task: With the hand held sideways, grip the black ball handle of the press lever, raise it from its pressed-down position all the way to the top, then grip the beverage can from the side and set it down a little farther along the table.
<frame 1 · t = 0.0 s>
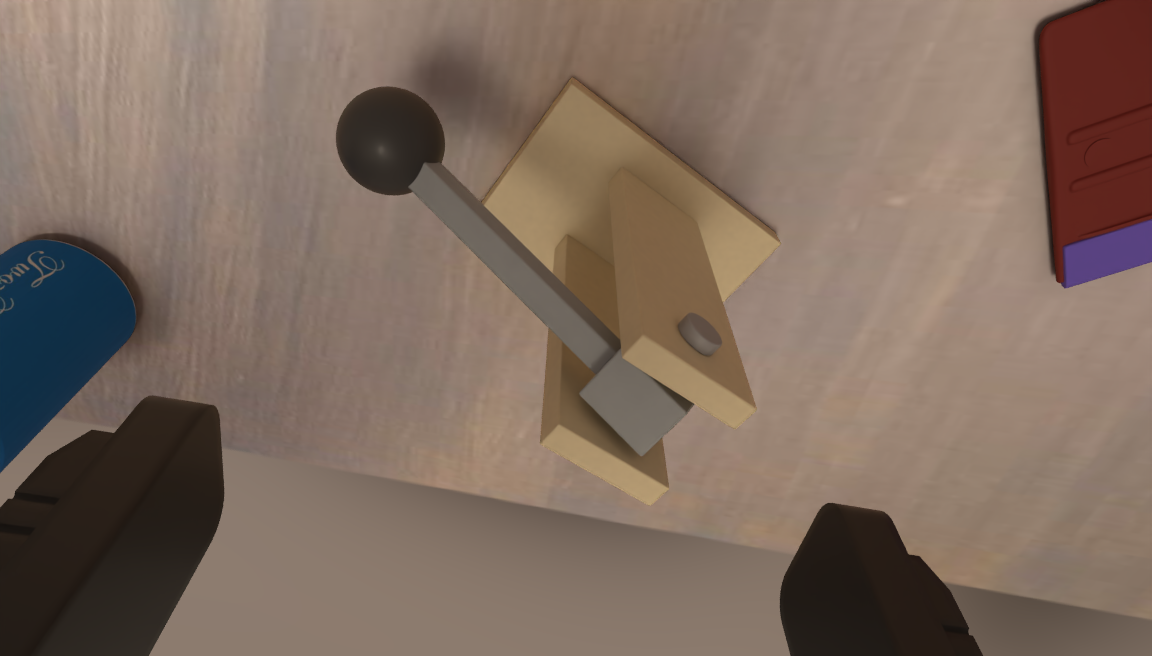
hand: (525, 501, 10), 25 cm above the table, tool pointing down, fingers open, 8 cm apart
beverage can: (79, 289, 37), on the table
lever bracket: (623, 224, 35), on the table
press lever: (509, 258, 24), point 10 cm above the table, hinge at -28.0°
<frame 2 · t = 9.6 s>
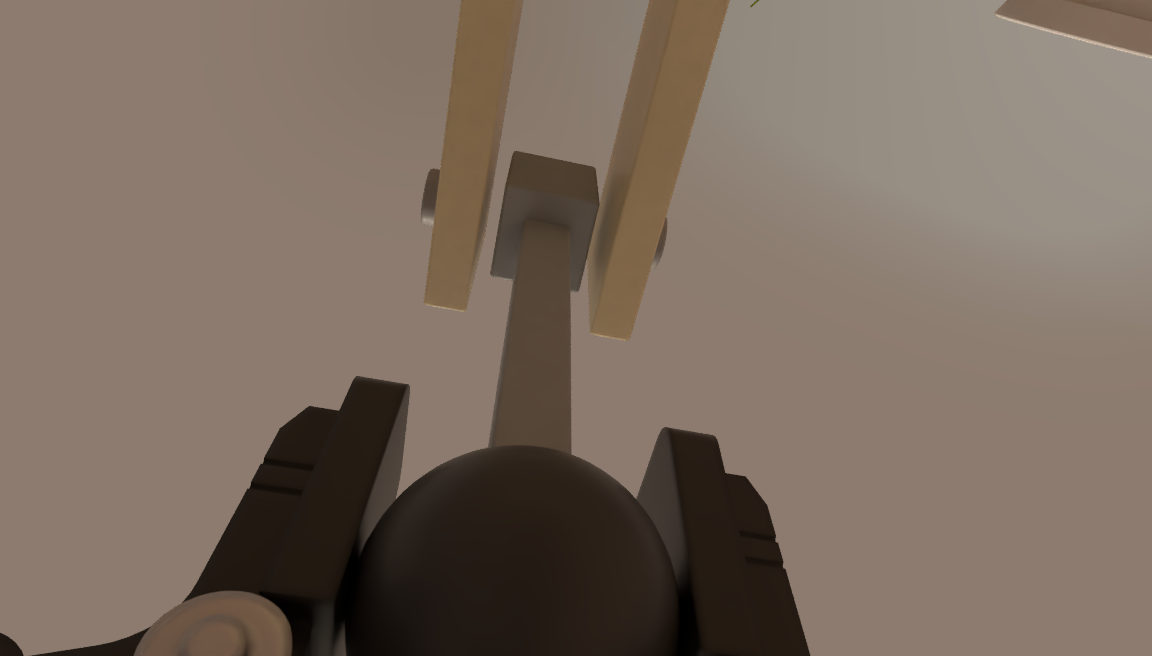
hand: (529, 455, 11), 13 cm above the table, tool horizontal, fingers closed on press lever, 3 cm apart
press lever: (535, 344, 13), point 13 cm above the table, hinge at -1.8°, touching gripper
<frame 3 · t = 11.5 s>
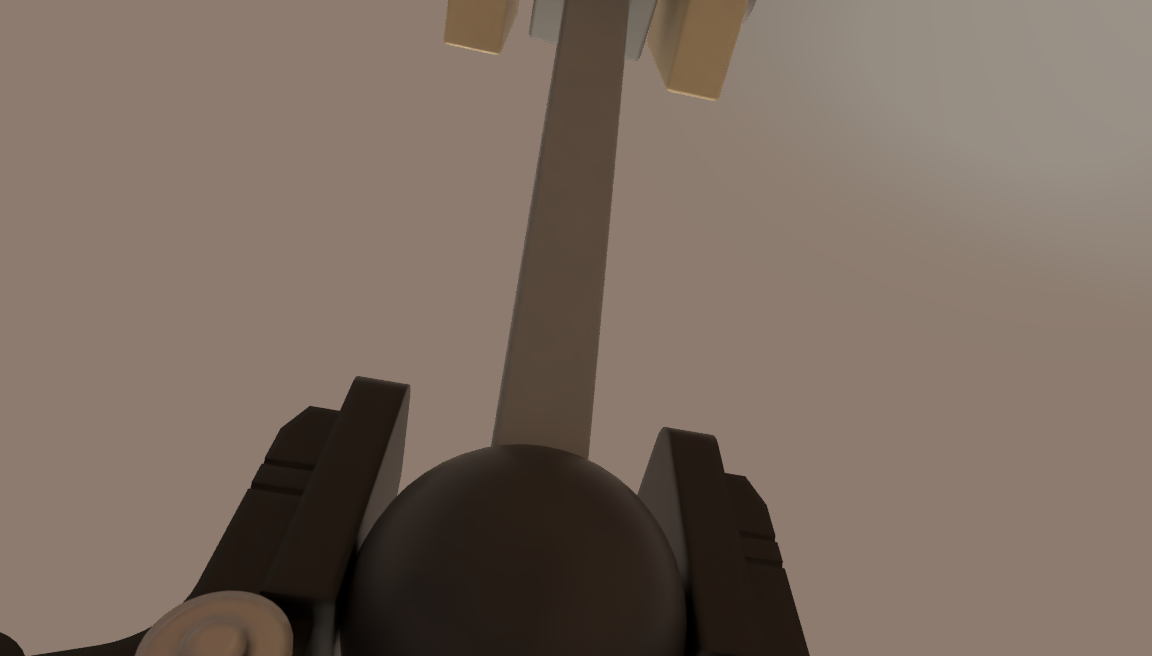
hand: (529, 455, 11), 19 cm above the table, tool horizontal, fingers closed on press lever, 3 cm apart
press lever: (570, 200, 11), point 16 cm above the table, hinge at 27.8°, touching gripper
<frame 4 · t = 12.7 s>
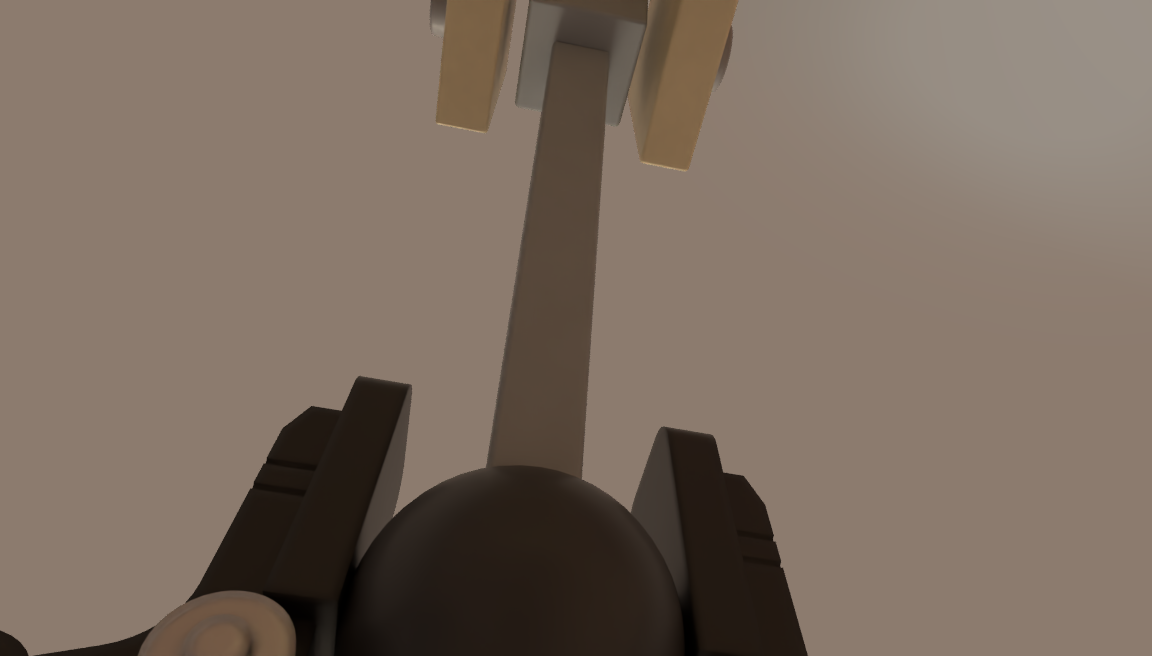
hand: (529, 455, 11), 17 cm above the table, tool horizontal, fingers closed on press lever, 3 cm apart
press lever: (557, 244, 11), point 15 cm above the table, hinge at 18.8°, touching gripper
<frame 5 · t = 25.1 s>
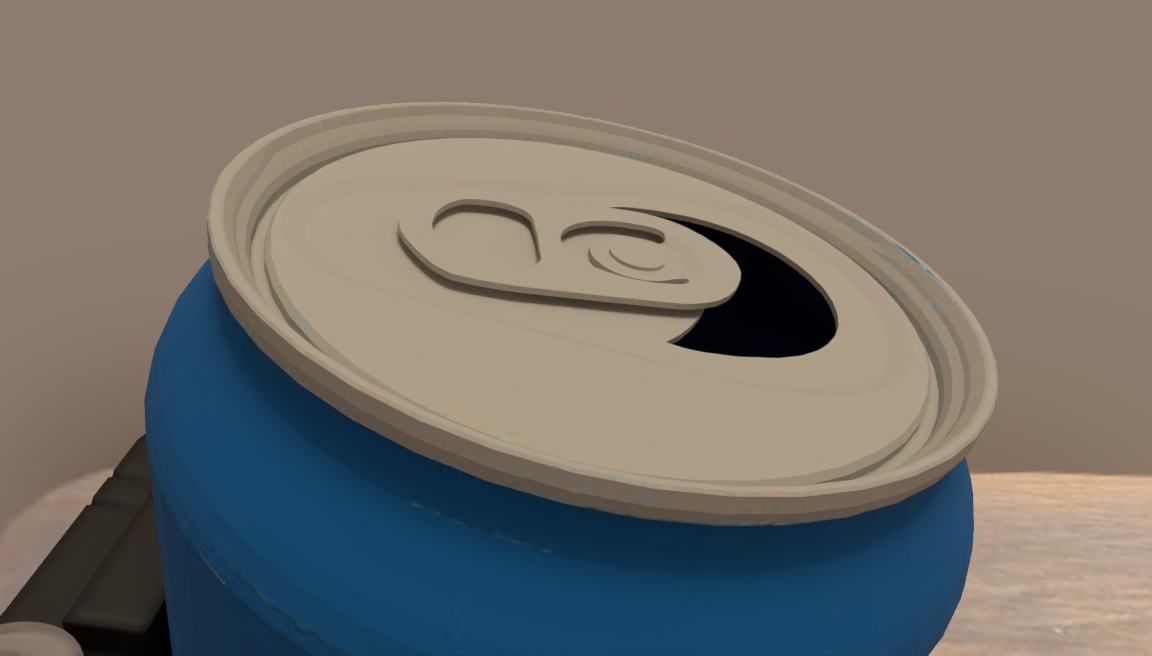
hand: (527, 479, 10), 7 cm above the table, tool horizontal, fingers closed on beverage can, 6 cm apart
when the fingers open (7 cm above the table, at t = 32.3 s): beverage can stays where it is, on the table.
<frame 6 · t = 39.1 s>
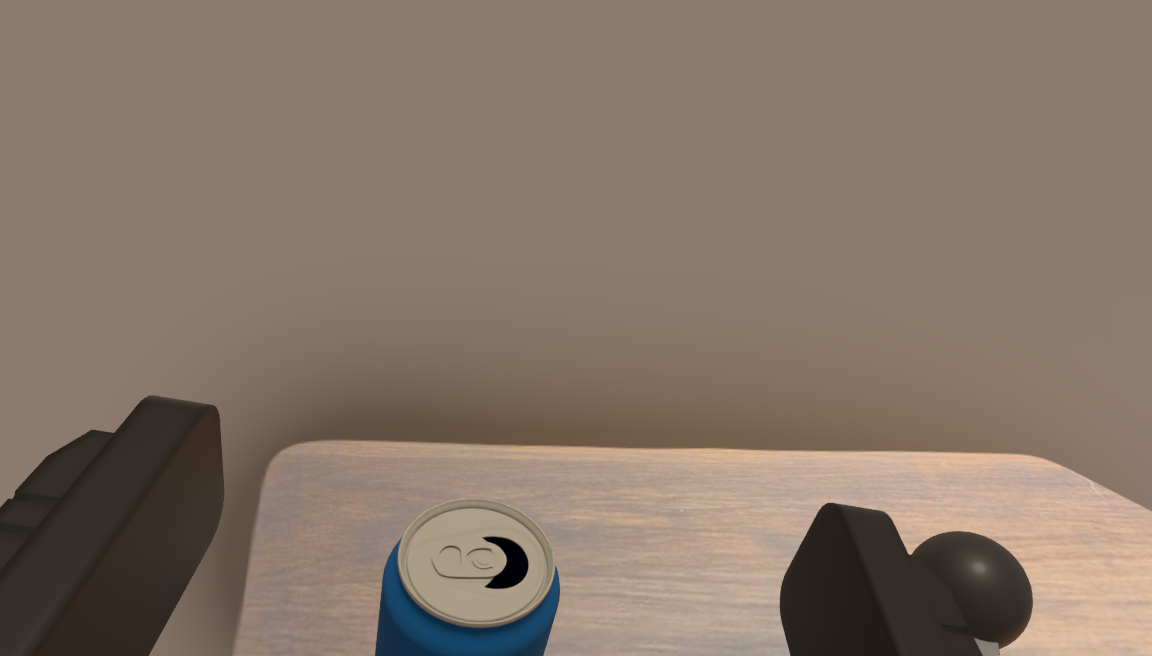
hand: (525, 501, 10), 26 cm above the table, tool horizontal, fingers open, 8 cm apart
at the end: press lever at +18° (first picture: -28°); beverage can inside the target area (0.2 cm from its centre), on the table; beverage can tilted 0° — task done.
